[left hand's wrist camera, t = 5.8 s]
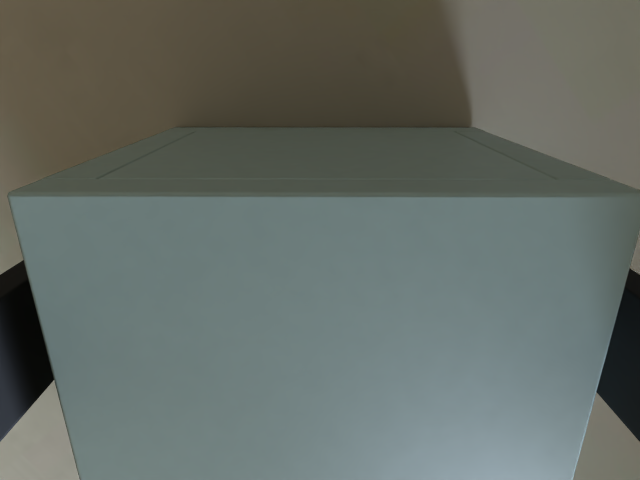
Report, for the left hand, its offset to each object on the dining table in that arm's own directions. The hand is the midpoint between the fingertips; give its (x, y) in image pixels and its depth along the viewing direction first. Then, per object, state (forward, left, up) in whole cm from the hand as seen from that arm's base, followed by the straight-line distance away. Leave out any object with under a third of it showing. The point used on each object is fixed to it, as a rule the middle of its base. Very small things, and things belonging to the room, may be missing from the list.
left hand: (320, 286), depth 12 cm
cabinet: (+5, -3, -6) cm, 8 cm away
